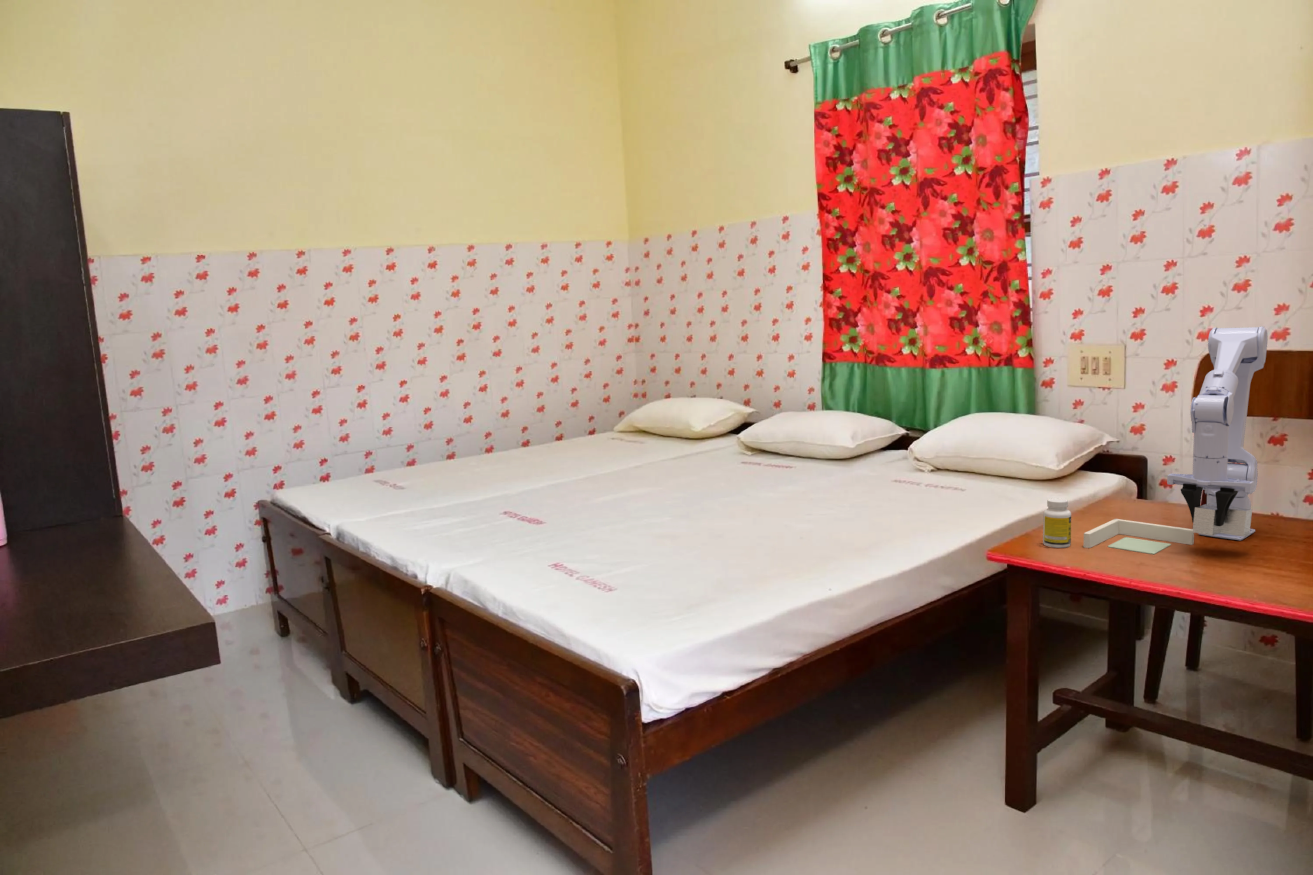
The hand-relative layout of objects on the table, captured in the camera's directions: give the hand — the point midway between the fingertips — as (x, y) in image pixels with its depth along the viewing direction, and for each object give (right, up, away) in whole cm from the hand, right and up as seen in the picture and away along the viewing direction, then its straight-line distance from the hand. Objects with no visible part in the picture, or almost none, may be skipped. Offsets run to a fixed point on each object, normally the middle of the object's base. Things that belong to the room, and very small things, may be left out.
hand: (1207, 523), depth 173 cm
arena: (-9, -6, +9) cm, 14 cm away
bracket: (+2, -2, 0) cm, 3 cm away
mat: (-9, -6, +9) cm, 14 cm away
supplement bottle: (-24, -6, +13) cm, 28 cm away
